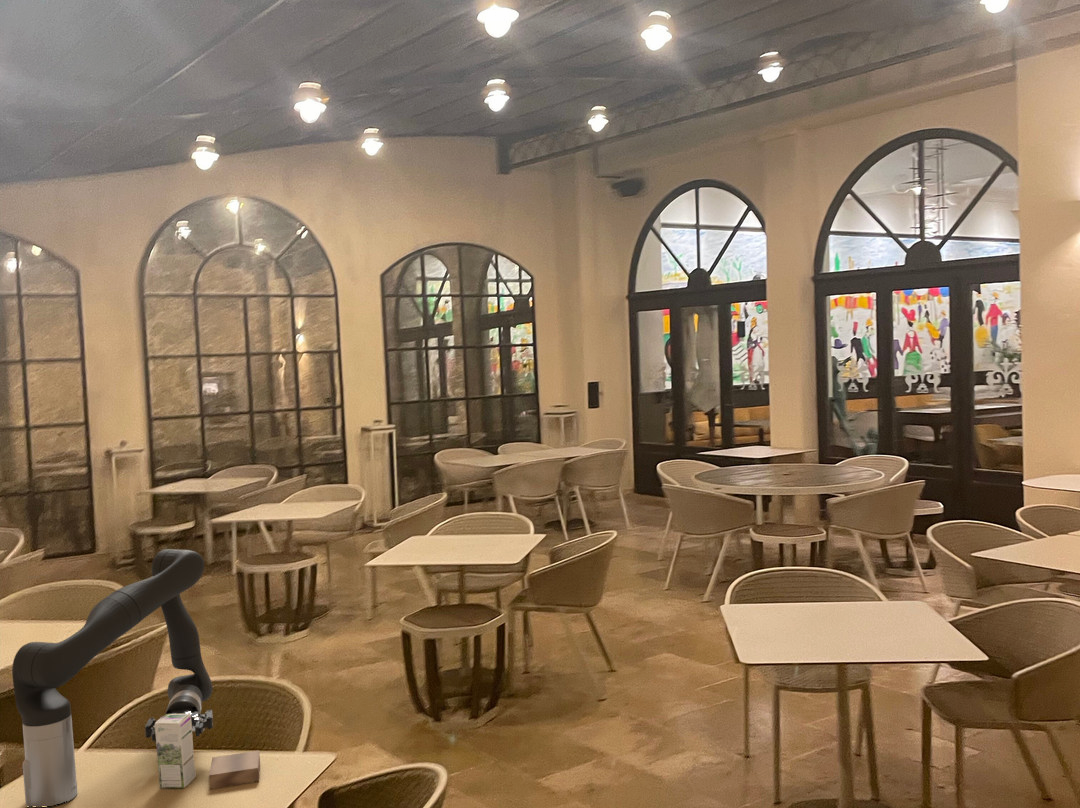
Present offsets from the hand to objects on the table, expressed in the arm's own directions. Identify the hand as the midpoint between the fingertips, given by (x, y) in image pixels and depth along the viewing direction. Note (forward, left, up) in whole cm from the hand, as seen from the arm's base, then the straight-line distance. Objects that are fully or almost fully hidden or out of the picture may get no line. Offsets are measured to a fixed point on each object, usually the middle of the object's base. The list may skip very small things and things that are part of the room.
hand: (176, 735), depth 213 cm
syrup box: (0, -4, -9) cm, 10 cm away
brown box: (+12, -5, -9) cm, 16 cm away
